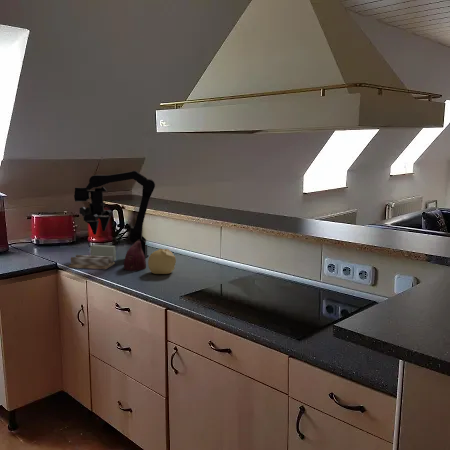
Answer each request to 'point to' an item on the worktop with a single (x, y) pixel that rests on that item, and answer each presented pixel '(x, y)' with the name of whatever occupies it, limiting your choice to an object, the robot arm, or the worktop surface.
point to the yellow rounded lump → (161, 262)
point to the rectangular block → (103, 251)
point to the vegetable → (135, 258)
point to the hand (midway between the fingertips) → (99, 232)
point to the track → (91, 262)
